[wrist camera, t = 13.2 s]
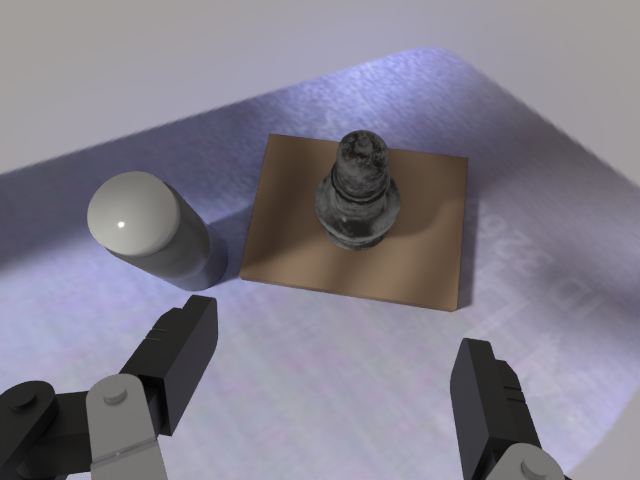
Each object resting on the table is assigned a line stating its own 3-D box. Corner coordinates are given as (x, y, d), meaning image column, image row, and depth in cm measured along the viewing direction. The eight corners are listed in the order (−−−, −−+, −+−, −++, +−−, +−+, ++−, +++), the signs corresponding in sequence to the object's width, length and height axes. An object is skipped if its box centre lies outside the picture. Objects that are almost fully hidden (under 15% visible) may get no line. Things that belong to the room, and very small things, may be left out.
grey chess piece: (367, 169, 34) (381, 68, 23) (409, 229, 33) (448, 153, 21) (303, 206, 33) (283, 122, 22) (343, 269, 32) (345, 214, 20)
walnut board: (242, 279, 34) (238, 276, 32) (272, 142, 37) (269, 133, 35) (451, 312, 32) (456, 309, 31) (462, 166, 35) (468, 158, 34)
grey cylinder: (158, 286, 34) (71, 247, 23) (174, 225, 35) (99, 162, 24) (220, 295, 33) (161, 261, 22) (233, 234, 35) (185, 174, 24)
